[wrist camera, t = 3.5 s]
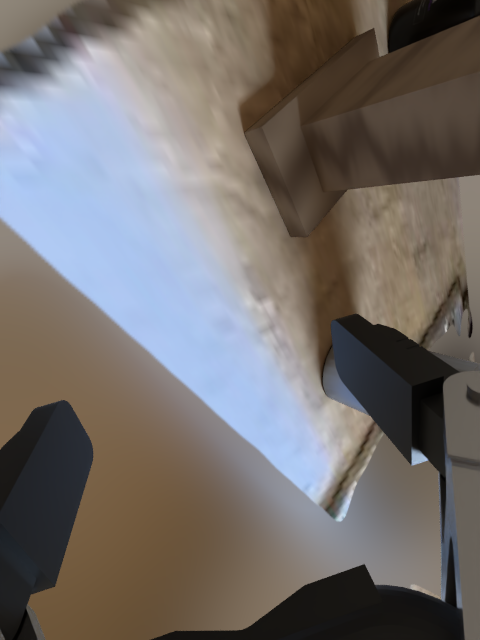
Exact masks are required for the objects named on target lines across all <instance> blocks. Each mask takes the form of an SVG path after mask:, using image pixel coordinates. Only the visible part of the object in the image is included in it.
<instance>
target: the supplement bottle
mask: <svg viewBox="0 0 480 640" xmlns="http://www.w3.org/2000/svg"><path fill="white" fill-rule="evenodd" d="M478 16H480V0H412V1H411V2H409V3H407V4H405V5H403V6H402V7H401V8H399V10H398V11H397V12H396V14H395V16H394V18H393V20H392V23H391V27H390V33H389V53H391V52H394V51H396V50H398V49H401V48H403V47H406V46H408V45H410V44H413V43H415V42H418V41H420V40H422V39H425V38H427V37H430V36H432V35H435V34H437V33H439V32H442V31H444V30H447V29H449V28H451V27H454V26H456V25H459V24H461V23H464V22H466V21H468V20H471V19H473V18H476V17H478Z"/></svg>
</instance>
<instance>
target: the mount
mask: <svg viewBox="0 0 480 640" xmlns="http://www.w3.org/2000/svg"><path fill="white" fill-rule="evenodd" d="M244 134H245V136H246V138H247V141H248V143H249V145H250V147H251V149H252V152H253V154H254V156H255V158H256V161H257V163H258V165H259V167H260V169H261V172H262V174H263V176H264V178H265V181H266V183H267V185H268V187H269V189H270V192H271V194H272V196H273V198H274V200H275V203H276V205H277V207H278V209H279V212H280V214H281V216H282V218H283V220H284V223H285V225H286V227H287V229H288V231H289V234H290V236H291V237H308V236H309V234H310V233H311V232H312V231H313V230H314V229H315V227H316V226H317V225H318V224H319V223H320V221H321V220H322V219H323V218H324V217H325V216H326V214H327V213H328V212H329V211H330V210H331V208H332V207H333V206H334V205H335V204H336V203H337V201H338V200H339V199H340V198H341V197H342V196H343V194H344V193H345V192H346V191H347V190H348V189H356V188H365V187H374V186H383V185H392V184H401V183H410V182H419V181H428V180H437V179H446V178H455V177H464V176H472V175H480V16H478V17H476V18H473V19H471V20H468V21H466V22H464V23H461V24H459V25H456V26H454V27H451V28H449V29H447V30H444V31H442V32H439V33H437V34H435V35H432V36H430V37H427V38H425V39H422V40H420V41H418V42H415V43H413V44H410V45H408V46H406V47H403V48H401V49H398V50H396V51H394V52H391V53H389V54H386V55H384V56H381V57H379V52H378V46H377V41H376V35H375V30H374V28H373V29H371V30H369V31H367V32H365V33H363V34H361V35H359V36H356V37H355V38H353V39H352V40H351V41H350V42H349V43H348V44H346V45H345V46H344V47H343V48H342V49H341V50H340V51H338V52H337V53H336V54H335V55H334V56H333V57H331V58H330V59H329V60H328V61H327V62H326V63H324V64H323V65H322V66H321V67H320V68H319V69H318V70H316V71H315V72H314V73H313V74H312V75H311V76H309V77H308V78H307V79H306V80H305V81H304V82H303V83H301V84H300V85H299V86H298V87H297V88H296V89H294V90H293V91H292V92H291V93H290V94H289V95H288V96H286V97H285V98H284V99H283V100H282V101H281V102H279V103H278V104H277V105H276V106H275V107H274V108H272V109H271V110H270V111H269V112H268V113H267V114H266V115H264V116H263V117H262V118H261V119H260V120H259V121H257V122H256V123H255V124H254V125H253V126H252V127H251V128H249V129H248V130H247V131H246V132H245V133H244Z"/></svg>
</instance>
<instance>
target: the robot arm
mask: <svg viewBox="0 0 480 640" xmlns="http://www.w3.org/2000/svg"><path fill="white" fill-rule="evenodd" d="M331 334H332V342H333V346H332V348H331V350H330V352H329V354H328V356H327V359H326V362H325V366H324V371H323V387H324V390H325V393H326V394H327V396H328V397H329V398H331V399H333V400H335V401H338V402H340V403H342V404H344V405H347V406H349V407H351V408H354V409H356V410H358V411H360V412H362V413H365V414H367V415H369V416H371V417H372V419H373V420H374V421H375V422H376V423H377V425H378V426H379V427H380V428H381V429H382V431H383V432H384V433H385V434H386V435H387V436H388V438H389V439H390V440H391V441H392V443H393V444H394V445H395V446H396V447H397V449H398V450H399V451H400V452H401V453H402V454H403V456H404V457H405V458H406V459H407V461H408V462H409V463H410V464H411V465H415V464H418V463H421V462H424V461H427V460H429V461H430V462H431V464H432V465H433V466H434V467H435V468H436V469H437V470H438V471H439V505H440V533H441V600H440V599H438V598H435V597H433V596H430V595H427V594H425V593H422V592H419V591H415V590H412V589H407V588H404V587H398V586H390V585H374V582H373V580H372V579H371V576H370V574H369V572H368V570H367V568H366V566H365V565H361V566H358V567H355V568H352V569H350V570H347V571H344V572H341V573H338V574H336V575H332V576H330V577H327V578H324V579H321V580H318V581H315V582H313V583H310V584H307V585H305V586H303V587H302V588H301V589H299V590H298V591H296V592H295V593H294V594H292V595H291V596H290V597H288V598H287V599H286V600H285V601H283V602H282V603H280V604H279V605H278V606H276V607H275V608H274V609H272V610H271V611H270V612H269V613H267V614H266V615H265V616H263V617H262V618H260V619H259V620H258V621H256V622H255V623H254V624H253V625H251V626H249V627H248V628H246V629H243V630H237V631H174V632H171V633H168V634H165V635H163V636H160V637H157V638H154V639H151V640H480V364H479V363H475V362H472V361H467V360H463V359H459V358H455V357H451V356H447V355H443V354H439V353H435V352H431V351H428V350H426V349H425V348H423V347H422V346H421V347H419V344H417V343H416V342H414V341H413V340H411V339H410V340H409V339H408V337H407V336H405V335H404V334H402V333H401V332H399V331H398V330H396V329H394V328H390V327H387V326H384V325H381V324H376V325H373V324H371V323H370V322H368V321H367V320H366V319H364V318H363V317H362V316H360V315H359V314H353V315H349V316H346V317H343V318H339V319H336V320H333V321H332V322H331ZM92 461H93V448H92V443H91V440H90V438H89V436H88V435H87V433H86V431H85V429H84V428H83V426H82V424H81V422H80V421H79V419H78V417H77V415H76V414H75V412H74V410H73V408H72V407H71V405H70V404H69V403H68V402H67V401H65V400H61V401H58V402H55V403H51V404H48V405H44V406H41V407H38V408H35V409H34V410H33V411H32V412H31V414H30V416H29V417H28V419H27V420H26V422H25V423H24V425H23V427H22V428H21V430H20V431H19V432H18V433H17V434H16V435H14V436H13V437H12V438H11V439H10V440H9V441H8V442H7V443H6V444H5V445H4V446H3V447H2V448H1V450H0V640H45V637H44V634H43V632H42V630H41V627H40V624H39V622H38V619H37V616H36V614H35V612H34V611H33V610H32V609H31V608H30V606H29V605H28V601H29V598H30V595H31V594H34V593H37V592H40V591H43V590H45V589H49V588H52V587H55V584H56V581H57V578H58V574H59V571H60V567H61V564H62V561H63V558H64V555H65V551H66V548H67V545H68V541H69V538H70V535H71V531H72V528H73V525H74V521H75V518H76V514H77V511H78V508H79V505H80V501H81V498H82V495H83V491H84V488H85V484H86V481H87V478H88V475H89V471H90V468H91V465H92Z"/></svg>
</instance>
